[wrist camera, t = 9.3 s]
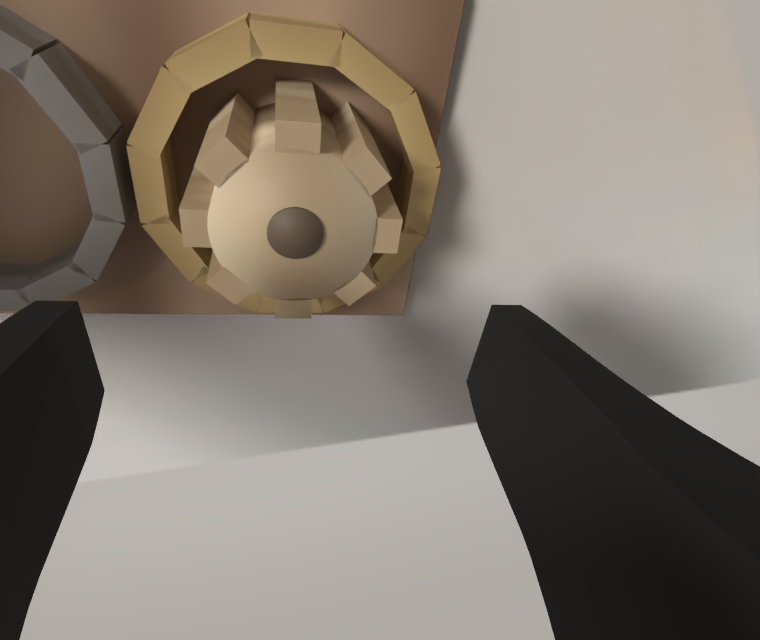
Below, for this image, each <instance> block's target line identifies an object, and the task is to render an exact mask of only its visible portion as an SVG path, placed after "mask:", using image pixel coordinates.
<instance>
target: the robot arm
mask: <svg viewBox="0 0 760 640" xmlns="http://www.w3.org/2000/svg"><path fill="white" fill-rule="evenodd" d="M467 385H468V389H469V393H470V397H471V401H472V406H473V409H474V413H475V416H476V420H477V423H478V427H479V430H480V432H481V435H482V437H483V440H484V442H485V445H486V447H487V450H488V452H489V454H490V457H491V459H492V462H493V464H494V467H495V469H496V471H497V474H498V476H499V479H500V481H501V483H502V486H503V488H504V491H505V493H506V495H507V498H508V500H509V503H510V505H511V507H512V510H513V512H514V515H515V517H516V519H517V522H518V524H519V527H520V529H521V531H522V534H523V537H524V540H525V542H526V545H527V548H528V550H529V553H530V556H531V559H532V562H533V566H534V569H535V572H536V575H537V579H538V582H539V585H540V589H541V592H542V595H543V598H544V601H545V605H546V608H547V612H548V615H549V619H550V623H551V626H552V630H553V633H554V637H555V640H760V466H758V465H756V464H754V463H752V462H751V461H749V460H747V459H745V458H744V457H741V456H740V455H738V454H737V453H735V452H733V451H732V450H730V449H728V448H727V447H725V446H723V445H722V444H720V443H718V442H717V441H715V440H713V439H712V438H710V437H708V436H707V435H705V434H703V433H701V432H700V431H698V430H697V429H695V428H693V427H692V426H690V425H688V424H687V423H686V422H684V421H682V420H681V419H679V418H678V417H676V416H674V415H673V414H672V413H670V412H669V411H667V410H666V409H664V408H663V407H661V406H660V405H658V404H657V403H655V402H654V401H653V400H651V399H649V398H648V397H647V396H645V395H644V394H642V393H641V392H639V391H638V390H636V389H635V388H634V387H632V386H631V385H629V384H628V383H627V382H625V381H624V380H622V379H621V378H620V377H618V376H617V375H616V374H614V373H613V372H611V371H610V370H609V369H607V368H606V367H605V366H603V365H602V364H601V363H599V362H598V361H597V360H595V359H594V358H593V357H591V356H590V355H589V354H587V353H586V352H585V351H583V350H582V349H581V348H579V347H578V346H577V345H575V344H574V343H573V342H571V341H570V340H569V339H568V338H566V337H565V336H564V335H562V334H561V333H560V332H558V331H557V330H556V329H554V328H553V327H552V326H550V325H549V324H548V323H546V322H545V321H544V320H542V319H541V318H539V317H538V316H537V315H535V314H534V313H532V312H531V311H529V310H528V309H526V308H525V307H523V306H521V305H492V306H491V309H490V312H489V315H488V318H487V321H486V324H485V327H484V330H483V333H482V336H481V339H480V342H479V345H478V348H477V351H476V354H475V357H474V360H473V363H472V366H471V369H470V372H469V375H468V379H467ZM103 395H104V387H103V384H102V380H101V377H100V374H99V370H98V367H97V364H96V360H95V357H94V354H93V350H92V347H91V344H90V340H89V337H88V334H87V330H86V327H85V324H84V320H83V317H82V314H81V310H80V307H79V304H78V301H34V302H32V303H31V304H29V305H28V306H26V307H24V308H23V309H21V310H20V311H18V312H17V313H15V314H14V315H12V316H11V317H9V318H8V319H6V320H5V321H3V322H2V323H0V640H19V639H20V635H21V632H22V628H23V625H24V621H25V618H26V614H27V611H28V607H29V605H30V602H31V599H32V596H33V593H34V590H35V588H36V585H37V582H38V579H39V576H40V574H41V571H42V569H43V566H44V564H45V561H46V559H47V556H48V554H49V551H50V549H51V546H52V544H53V541H54V538H55V536H56V533H57V531H58V529H59V526H60V524H61V521H62V519H63V516H64V514H65V511H66V508H67V506H68V504H69V501H70V499H71V496H72V494H73V491H74V489H75V486H76V484H77V481H78V478H79V476H80V473H81V471H82V468H83V466H84V463H85V460H86V458H87V455H88V453H89V450H90V447H91V445H92V441H93V437H94V433H95V429H96V425H97V421H98V417H99V413H100V408H101V404H102V399H103Z"/></svg>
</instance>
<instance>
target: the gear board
mask: <svg viewBox="0 0 760 640" xmlns="http://www.w3.org/2000/svg"><path fill="white" fill-rule="evenodd" d="M464 2H465V0H0V313H17V312H18V311H20V310H21V309H23V308H24V307H26V306H28V305H29V304H31V303H32V302H34V301H78V304H79V307H80V310H81V313H131V314H275V299H273V298H270V297H266V296H263V295H261V294H258V293H256V292H253V291H252V292H251V293H250V294H249V295H248V296H246V297H245V298H244V299H243V300H241V301H240V302H239V303H238V304H236V305H235V304H233V303H232V302H231V301H229V300H228V299H227V298H225V297H224V296H223V295H221V294H220V293H219V292H217V291H216V290H215V289H213V288H212V287H211V286H209V285H208V284H207V283H206V281H207V276H208V271H209V266H210V261H211V257H212V252H213V249H212V248H207V247H184V246H183V238H182V231H181V223H180V215H179V207H180V204H181V201H182V199H183V196H184V193H185V190H186V188H187V185H188V182H189V179H190V177H191V174H192V171H193V169H194V164H195V162H196V159H197V156H198V154H199V151H200V148H201V145H202V143H203V140H204V137H205V134H206V132H207V129H208V126H209V124H210V121H211V118H212V115H213V114H214V113H215V112H216V111H217V110H218V109H219V108H220V107H221V106H222V105H223V104H224V103H225V102H226V101H227V100H228V99H229V98H230V97H231V96H232V95H233V94H234V93H235V92H236V91H237V90H238V92H239V93H240V94H241V95H242V96H243V97H244V98H245V99H246V100H247V101H248V102H249V103H250V105H251V106H252V107H253V108H254V109H257V108H259V107H262V106H264V105H267V104H271V103H275V97H276V77H277V78H287V79H297V80H307V81H312V83H313V88H314V92H315V97H316V101H317V106H318V109H320V110H322V111H323V112H325V113H327V114H328V115H330V116H331V115H332V114H334V113H335V112H336V111H337V110H338V109H339V108H340V107H341V106H343V105H344V104H345V103H346V102H347V101H348V102H349V103H350V105H351V106H352V107H353V108H354V110H355V111H356V112H357V114H358V115H359V116H360V117H361V119H362V120H363V121H364V123H365V124H366V125H367V126H368V128H369V130H370V132H371V134H372V136H373V138H374V141H375V143H376V145H377V147H378V149H379V151H380V154H381V156H382V158H383V160H384V162H385V164H386V167H387V169H388V171H389V173H390V175H391V177H392V179H391V180H390V181H389V182H388V183H387V184H388V186H389V189H390V191H391V193H392V196H393V198H394V200H395V203H396V205H397V207H398V210H399V212H400V214H401V216H402V219H403V222H402V227H401V233H400V239H399V245H398V251H397V254H395V253H373V254H372V256H371V258H370V260H369V262H370V265H371V269H372V273H373V276H374V280H375V283H376V287H374V288H373V289H371V290H370V291H369V292H367V293H366V294H365V295H363V296H362V297H361V298H359V299H358V300H357V301H355V302H354V303H352V304H351V305H350V306H348V305H347V304H346V303H345V302H344V301H343V300H342V299H340V298H339V297H338V296H337V295H336V294H335V293H334V292H333V293H331V294H329V295H326V296H323V297H320V298H316V299H312V308H311V314H318V315H403V312H404V307H405V301H406V296H407V291H408V286H409V281H410V276H411V271H412V266H413V261H414V256H415V251H416V249H417V247H418V246H419V245H420V244H421V243H422V241H423V240H424V239H425V238H426V237H425V235H427V234H428V229H429V224H430V219H431V214H432V210H433V205H434V200H435V195H436V191H437V186H438V181H439V176H440V171H441V168H440V165H441V164H440V161H439V158H438V155H437V152H436V144H437V139H438V134H439V129H440V124H441V118H442V113H443V108H444V103H445V98H446V93H447V88H448V83H449V78H450V73H451V68H452V63H453V57H454V52H455V47H456V42H457V37H458V32H459V27H460V22H461V17H462V12H463V7H464Z"/></svg>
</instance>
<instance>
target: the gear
mask: <svg viewBox="0 0 760 640" xmlns="http://www.w3.org/2000/svg"><path fill="white" fill-rule="evenodd" d="M391 179H392V177H391V175H390V173H389V171H388V169H387V167H386V164H385V162H384V160H383V158H382V156H381V154H380V151H379V149H378V147H377V145H376V143H375V141H374V138H373V136H372V134H371V132H370V130H369V128H368V126H367V125H366V124H365V123H364V121H363V120H362V119H361V117H360V116H359V115H358V114H357V112H356V111H355V110H354V108H353V107H352V106H351V105H350V103H349V102H348V101H347V102H346V103H345V104H344V105H343V106H341V107H340V108H339V109H338V110H337V111H336V112H335V113H334V114H332V115H331V116H330V115H328V114H327V113H325V112H323V111H322V110H320V109H318V106H317V101H316V97H315V92H314V88H313V83H312V81H307V80H297V79H287V78H277V77H276V97H275V103H271V104H267V105H264V106H262V107H259V108H257V109H254V108H253V107H252V106H251V105H250V103H249V102H248V101H247V100H246V99H245V98H244V97H243V96H242V95H241V94H240V93H239V92H238V90H237V91H236V92H235V93H234V94H233V95H232V96H231V97H230V98H229V99H228V100H227V101H226V102H225V103H224V104H223V105H222V106H221V107H220V108H219V109H218V110H217V111H216V112H215V113H214V114H213V115H212V118H211V121H210V124H209V126H208V129H207V132H206V134H205V137H204V140H203V143H202V145H201V148H200V151H199V154H198V156H197V159H196V162H195V164H194V169H193V171H192V174H191V177H190V179H189V182H188V185H187V188H186V190H185V193H184V196H183V199H182V201H181V204H180V207H179V215H180V223H181V231H182V238H183V246H184V247H207V248H212V249H213V252H212V257H211V261H210V266H209V271H208V276H207V281H206V283H207V284H208V285H209V286H211V287H212V288H213V289H215V290H216V291H217V292H219V293H220V294H221V295H223V296H224V297H225V298H227V299H228V300H229V301H231V302H232V303H233V304H235V305H236V304H238V303H239V302H240V301H241V300H243V299H244V298H245V297H246V296H248V295H249V294H250V293H251V292H252V291H253V292H256V293H258V294H261V295H263V296H266V297H270V298H273V299H275V318H311V308H312V299H316V298H320V297H323V296H326V295H329V294H331V293H333V292H334V293H335V294H336V295H337V296H338V297H339V298H340V299H342V300H343V301H344V302H345V303H346V304H347V305H348V306H350V305H351V304H352V303H354V302H355V301H357V300H358V299H359V298H361V297H362V296H363V295H365V294H366V293H367V292H369V291H370V290H371V289H373V288H374V287H376V283H375V280H374V276H373V273H372V269H371V265H370V262H369V260H370V258H371V256H372V254H373V253H395V254H397V251H398V245H399V239H400V233H401V227H402V222H403V219H402V216H401V214H400V212H399V210H398V207H397V205H396V203H395V200H394V198H393V196H392V193H391V191H390V189H389V186H388V184H387V183H388V182H389V181H390V180H391Z"/></svg>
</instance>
